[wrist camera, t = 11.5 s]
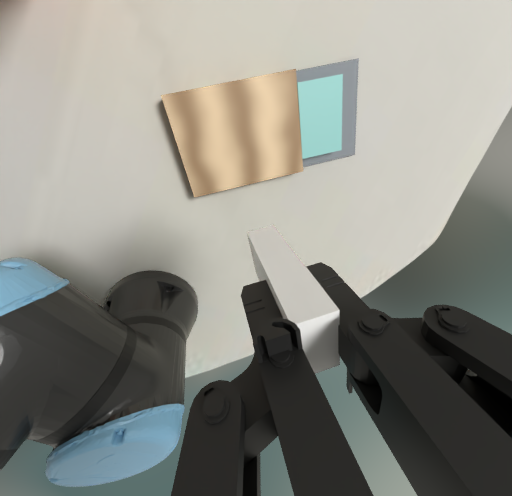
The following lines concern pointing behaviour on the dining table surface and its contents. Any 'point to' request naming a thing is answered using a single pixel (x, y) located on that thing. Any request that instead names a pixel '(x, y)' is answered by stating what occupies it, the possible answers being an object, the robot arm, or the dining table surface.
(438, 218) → the dining table surface
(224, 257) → the dining table surface
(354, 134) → the mat
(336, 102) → the turquoise rectangular block
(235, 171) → the tan wooden board
